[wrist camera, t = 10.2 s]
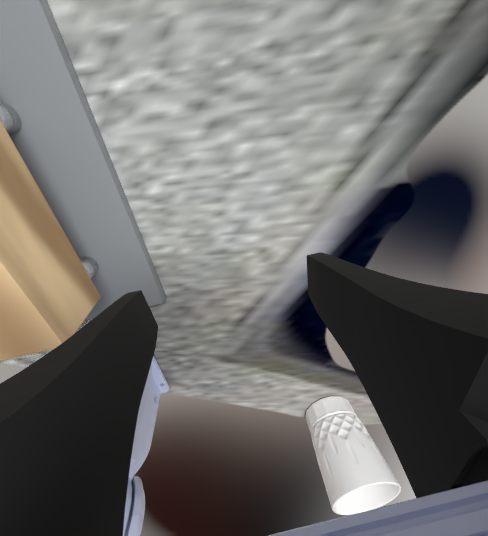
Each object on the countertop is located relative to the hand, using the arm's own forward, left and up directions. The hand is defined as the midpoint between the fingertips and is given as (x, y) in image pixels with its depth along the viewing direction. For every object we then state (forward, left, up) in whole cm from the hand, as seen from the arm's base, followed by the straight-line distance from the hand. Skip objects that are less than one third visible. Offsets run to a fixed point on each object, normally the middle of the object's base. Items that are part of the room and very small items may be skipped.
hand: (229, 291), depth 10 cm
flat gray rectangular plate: (+4, +12, -10) cm, 16 cm away
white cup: (-31, -9, -11) cm, 34 cm away
